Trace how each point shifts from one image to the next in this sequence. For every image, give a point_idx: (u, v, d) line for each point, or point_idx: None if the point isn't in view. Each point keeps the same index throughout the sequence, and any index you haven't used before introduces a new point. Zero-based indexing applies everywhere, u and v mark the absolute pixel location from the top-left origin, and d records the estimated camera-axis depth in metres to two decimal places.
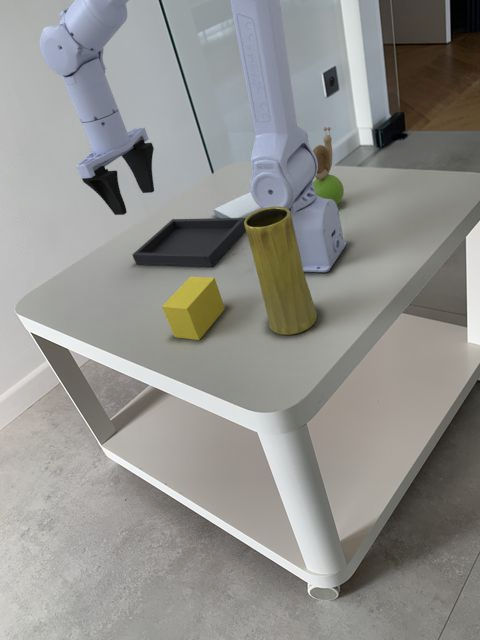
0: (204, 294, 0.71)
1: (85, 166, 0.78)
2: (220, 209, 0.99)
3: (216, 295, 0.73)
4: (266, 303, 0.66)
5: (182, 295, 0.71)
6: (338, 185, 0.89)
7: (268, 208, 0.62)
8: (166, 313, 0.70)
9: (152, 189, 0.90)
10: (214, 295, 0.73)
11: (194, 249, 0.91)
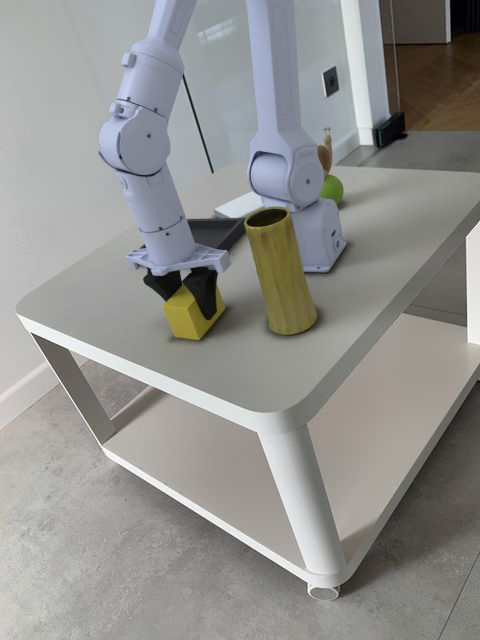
0: None
1: (227, 252, 0.65)
2: (220, 209, 0.99)
3: (216, 295, 0.73)
4: (266, 303, 0.66)
5: (183, 295, 0.71)
6: (338, 185, 0.89)
7: (268, 208, 0.62)
8: (166, 313, 0.70)
9: None
10: None
11: None
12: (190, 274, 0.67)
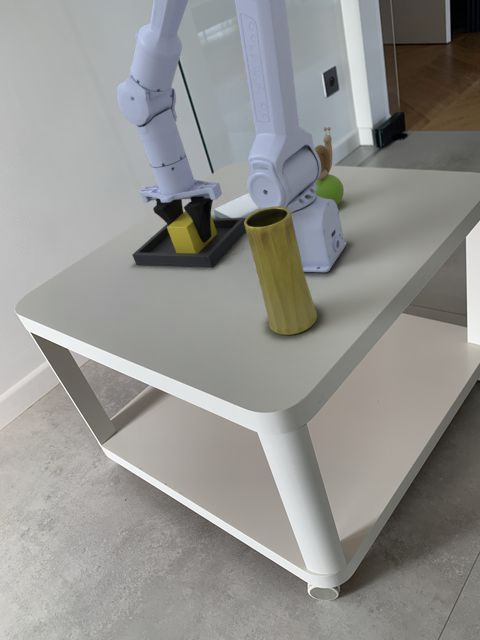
0: None
1: (218, 184, 0.84)
2: (220, 209, 0.99)
3: None
4: (266, 303, 0.66)
5: (183, 219, 0.89)
6: (338, 185, 0.89)
7: (268, 208, 0.62)
8: (170, 233, 0.89)
9: None
10: None
11: None
12: (190, 202, 0.86)
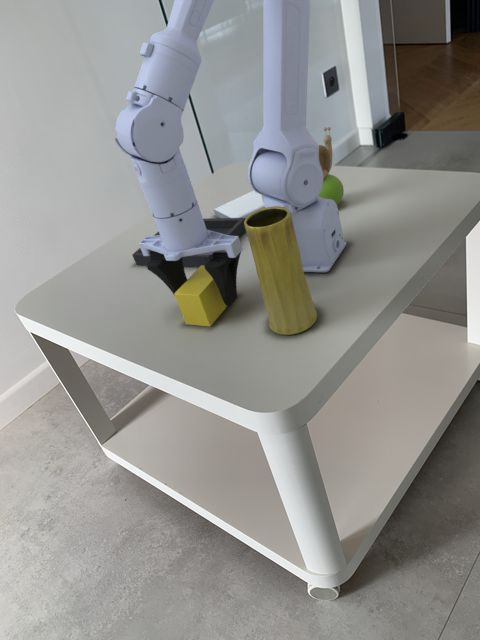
0: None
1: (238, 238, 0.67)
2: (220, 209, 0.99)
3: None
4: (266, 303, 0.66)
5: (194, 283, 0.72)
6: (338, 185, 0.89)
7: (268, 208, 0.62)
8: (178, 300, 0.72)
9: None
10: None
11: None
12: (212, 260, 0.68)
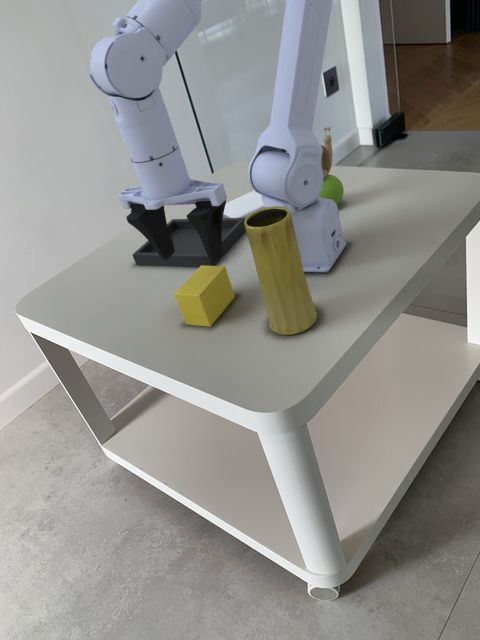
0: (215, 282, 0.73)
1: (222, 185, 0.63)
2: None
3: (226, 283, 0.75)
4: (266, 303, 0.66)
5: (194, 283, 0.72)
6: (338, 185, 0.89)
7: (268, 208, 0.62)
8: (178, 300, 0.72)
9: None
10: (225, 283, 0.75)
11: (194, 249, 0.91)
12: (195, 209, 0.64)
